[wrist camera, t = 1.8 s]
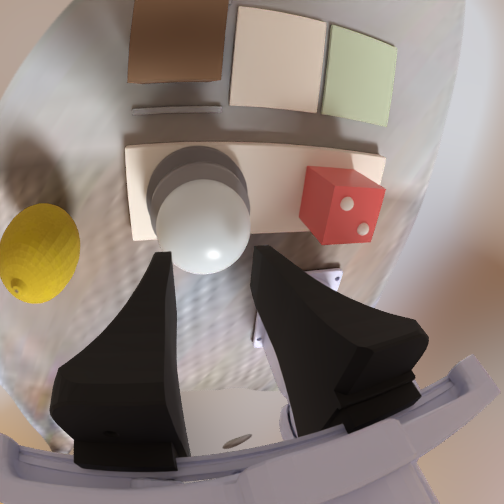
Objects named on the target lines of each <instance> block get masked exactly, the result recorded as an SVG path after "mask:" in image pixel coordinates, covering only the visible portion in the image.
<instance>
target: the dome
mask: <svg viewBox="0 0 504 504" xmlns="http://www.w3.org/2000/svg"><path fill="white" fill-rule="evenodd" d="M150 220H151V225H152V228H153V231H154V233H155V235H156V236H157V239H158V242H159V245H160V247H161V249H162V251H163V252H168V251H171V252H172V263H173V264H174V265H176V266H177V267H179V268H180V269H182V270H184V271H187V272H190V273H194V274H212V273H216V272H219V271H222V270H224V269H226V268H227V267H229V266H231V265H232V264H233V263H234V262H235V261H236V260H237V259H238V258H239V257H240V256H241V255H242V253H243V252H244V250H245V248H246V246H247V244H248V241H249V237H250V231H251V223H250V201H249V197H248V194H247V192H246V190H245V188H244V187H243V185H242V184H241V182H240V181H239V179H238V178H237V177H236V176H235V174H234V173H232V172H231V171H230V170H229V169H227V168H226V167H224V166H222V165H219V164H216V163H213V162H208V161H194V162H189V163H185V164H182V165H180V166H178V167H176V168H174V169H173V170H171V171H170V172H168V173H167V174H166V175H165V176H164V177H163V178H162V179H161V181H160V182H159V184H158V185H157V187H156V189H155V191H154V194H153V197H152V202H151V209H150Z"/></svg>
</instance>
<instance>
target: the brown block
mask: <svg viewBox="0 0 504 504" xmlns="http://www.w3.org/2000/svg"><path fill="white" fill-rule="evenodd" d="M228 3H229V0H135V3H134V10H133V17H132V26H131V35H130V46H129V60H128V79H127V83H138V84H150V83H170V82H211V81H217V80H221V74H222V62H223V51H224V41H225V30H226V21H227V12H228Z"/></svg>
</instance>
